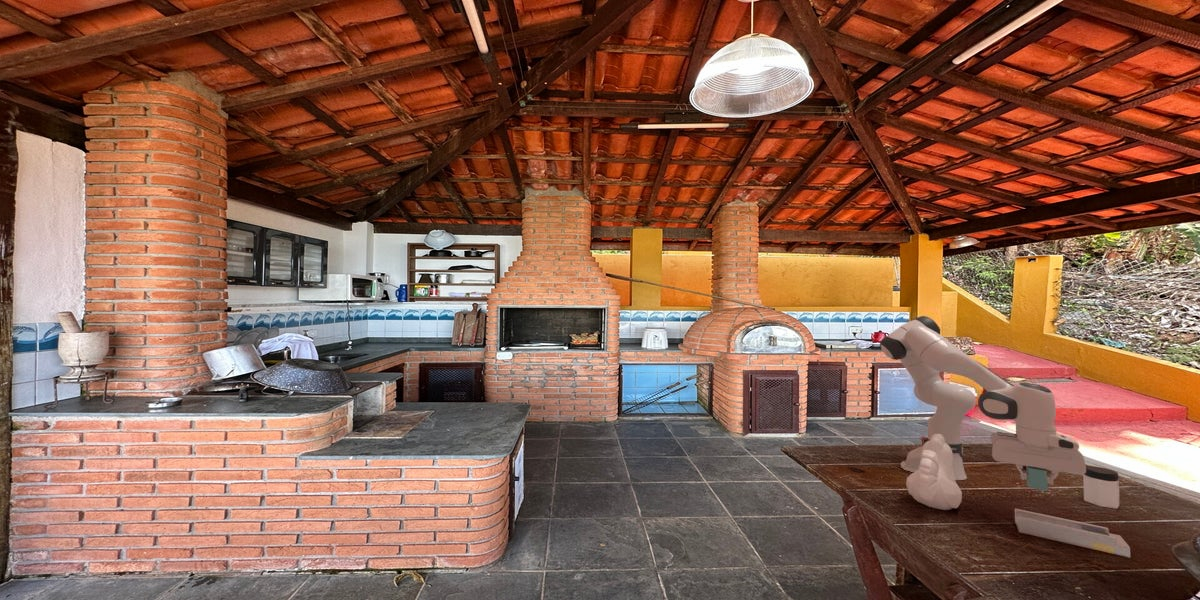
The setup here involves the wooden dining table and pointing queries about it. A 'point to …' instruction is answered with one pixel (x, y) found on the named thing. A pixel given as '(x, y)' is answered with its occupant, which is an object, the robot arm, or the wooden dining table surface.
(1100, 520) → the wooden dining table surface
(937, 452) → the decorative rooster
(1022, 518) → the white long bar
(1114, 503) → the jar
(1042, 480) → the block
